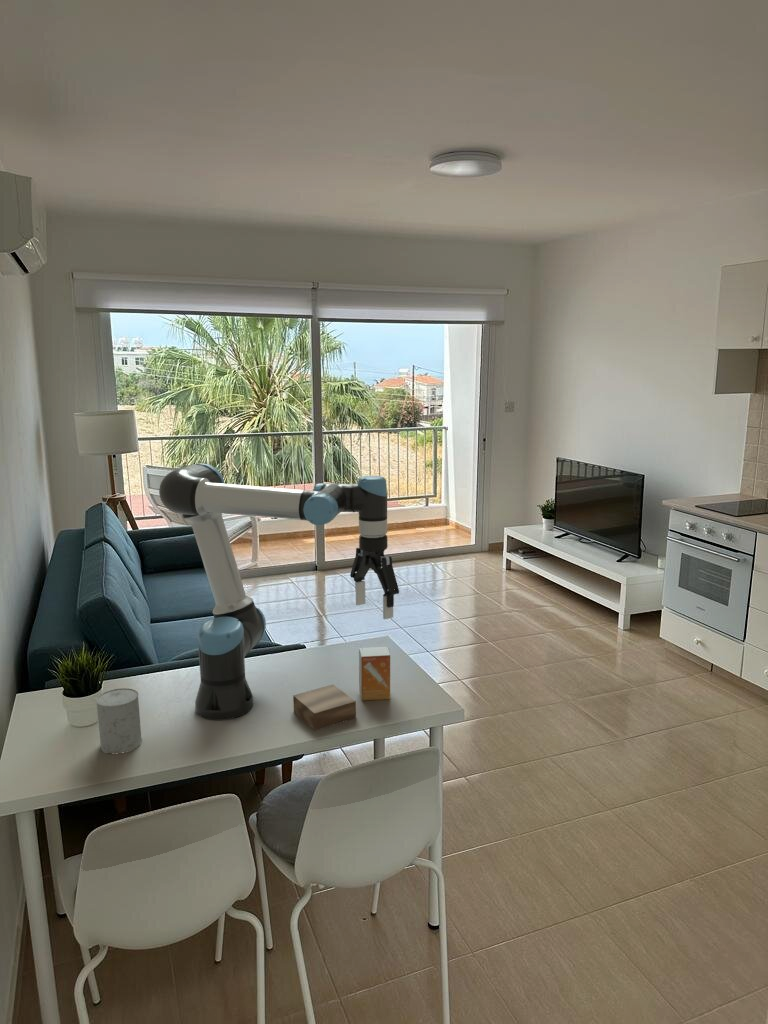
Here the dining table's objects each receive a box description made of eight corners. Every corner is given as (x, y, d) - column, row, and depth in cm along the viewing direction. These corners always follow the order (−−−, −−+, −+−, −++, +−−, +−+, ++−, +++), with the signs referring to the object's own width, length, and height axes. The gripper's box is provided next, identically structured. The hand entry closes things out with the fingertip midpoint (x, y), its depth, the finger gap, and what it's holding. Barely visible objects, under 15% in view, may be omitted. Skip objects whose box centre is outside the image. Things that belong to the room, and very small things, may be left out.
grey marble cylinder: (149, 736, 180) (146, 690, 178) (128, 756, 171) (123, 708, 168) (115, 732, 182) (111, 686, 180) (92, 751, 173) (87, 704, 171)
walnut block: (293, 712, 192) (293, 695, 191) (333, 701, 199) (333, 684, 198) (315, 731, 182) (314, 713, 181) (356, 719, 189) (355, 701, 188)
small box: (361, 701, 198) (360, 656, 195) (359, 691, 204) (358, 647, 201) (390, 699, 199) (390, 654, 196) (387, 689, 205) (387, 645, 202)
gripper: (412, 541, 184) (412, 621, 188) (360, 524, 204) (361, 596, 209) (388, 546, 180) (388, 627, 184) (337, 527, 200) (338, 601, 205)
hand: (374, 611), depth 196 cm, fingers open, 13 cm apart
